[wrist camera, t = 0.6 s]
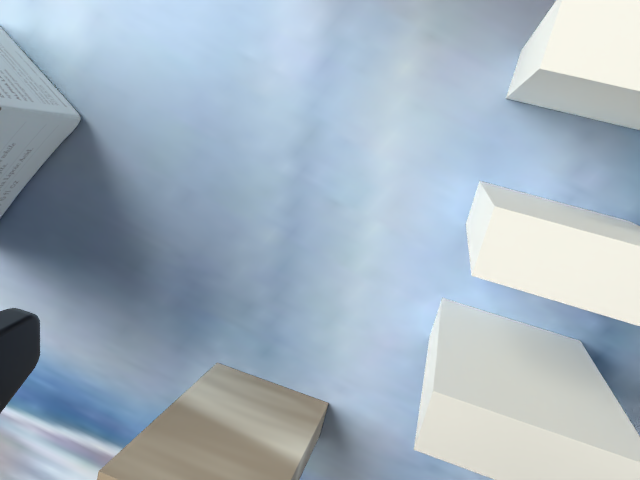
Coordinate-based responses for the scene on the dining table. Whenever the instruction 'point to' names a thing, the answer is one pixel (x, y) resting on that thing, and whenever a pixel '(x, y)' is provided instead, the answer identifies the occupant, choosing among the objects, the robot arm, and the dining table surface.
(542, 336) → the domino
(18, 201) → the dining table surface
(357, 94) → the dining table surface
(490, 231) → the domino
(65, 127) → the skincare box
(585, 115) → the domino
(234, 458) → the domino
